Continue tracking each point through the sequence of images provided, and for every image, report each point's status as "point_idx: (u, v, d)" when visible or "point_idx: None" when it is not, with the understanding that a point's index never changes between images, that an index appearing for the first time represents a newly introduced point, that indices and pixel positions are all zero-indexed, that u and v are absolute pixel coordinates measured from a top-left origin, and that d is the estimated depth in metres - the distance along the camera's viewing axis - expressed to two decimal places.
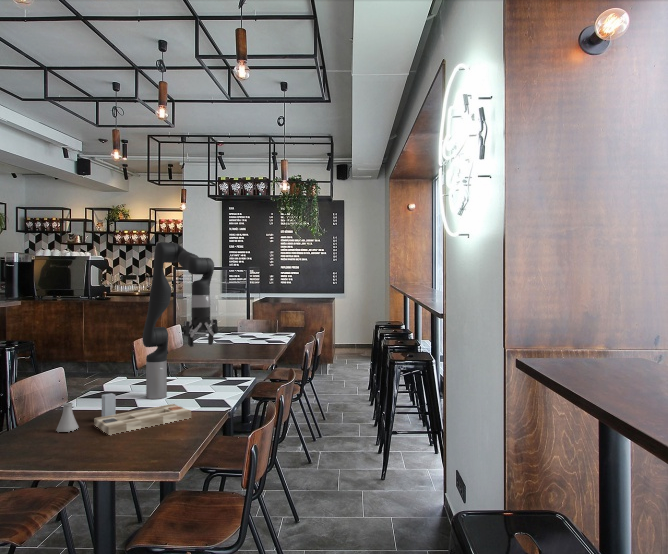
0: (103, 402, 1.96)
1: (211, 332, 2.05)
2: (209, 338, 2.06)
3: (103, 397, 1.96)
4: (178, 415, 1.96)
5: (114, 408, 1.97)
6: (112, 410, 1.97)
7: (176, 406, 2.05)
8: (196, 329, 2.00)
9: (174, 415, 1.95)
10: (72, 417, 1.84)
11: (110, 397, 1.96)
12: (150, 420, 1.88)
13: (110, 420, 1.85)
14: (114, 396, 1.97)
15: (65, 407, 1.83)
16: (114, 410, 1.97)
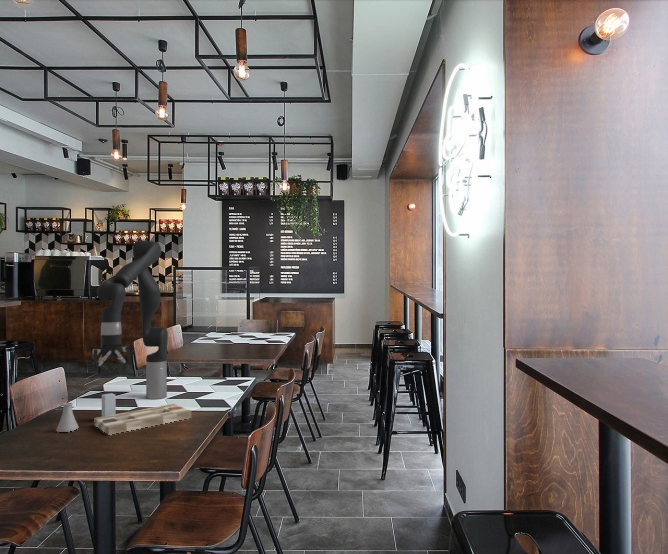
0: (103, 402, 1.96)
1: (123, 360, 2.00)
2: (121, 366, 2.00)
3: (103, 397, 1.96)
4: (178, 415, 1.96)
5: (114, 408, 1.97)
6: (112, 410, 1.97)
7: (176, 406, 2.05)
8: (105, 357, 1.94)
9: (174, 415, 1.95)
10: (72, 417, 1.84)
11: (110, 397, 1.96)
12: (150, 420, 1.88)
13: (110, 420, 1.85)
14: (114, 396, 1.97)
15: (65, 407, 1.83)
16: (114, 410, 1.97)
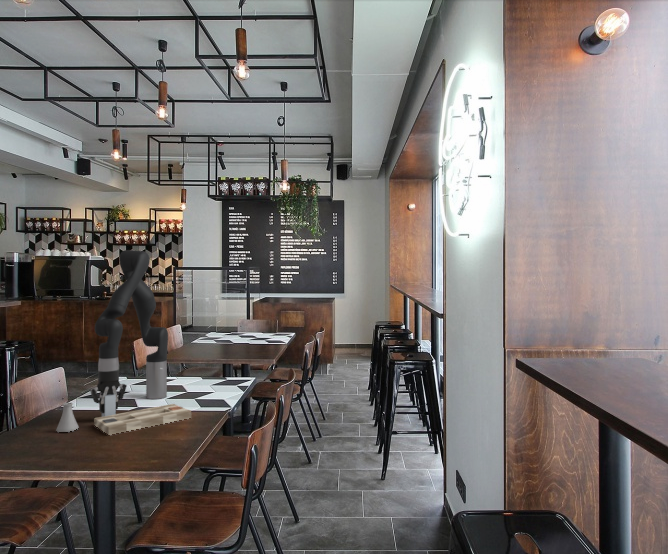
0: None
1: (116, 398, 1.99)
2: None
3: None
4: (178, 415, 1.96)
5: (114, 408, 1.97)
6: (112, 410, 1.97)
7: (176, 406, 2.05)
8: (104, 394, 1.95)
9: (174, 415, 1.95)
10: (72, 417, 1.84)
11: (110, 397, 1.96)
12: (150, 420, 1.88)
13: (110, 420, 1.85)
14: (114, 396, 1.97)
15: (65, 407, 1.83)
16: (114, 410, 1.97)
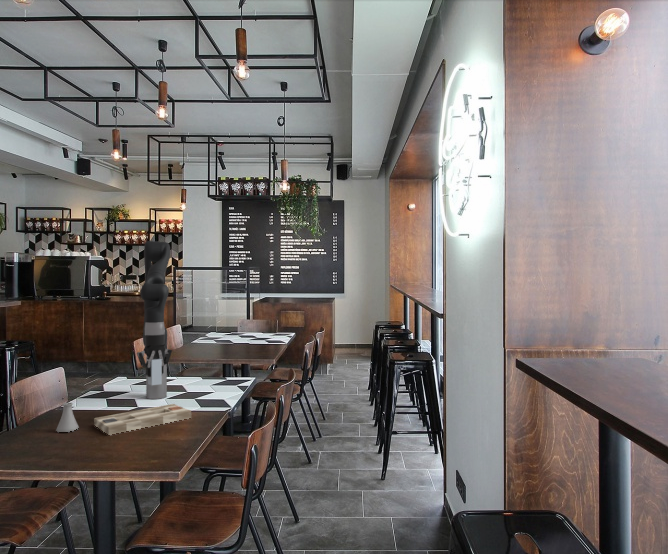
0: None
1: (162, 362, 2.00)
2: None
3: None
4: (178, 415, 1.96)
5: (160, 372, 1.98)
6: (158, 374, 1.98)
7: (176, 406, 2.05)
8: (151, 358, 1.96)
9: (174, 415, 1.95)
10: (72, 417, 1.84)
11: (156, 361, 1.97)
12: (150, 420, 1.88)
13: (110, 420, 1.85)
14: (160, 360, 1.98)
15: (65, 407, 1.83)
16: (160, 374, 1.98)
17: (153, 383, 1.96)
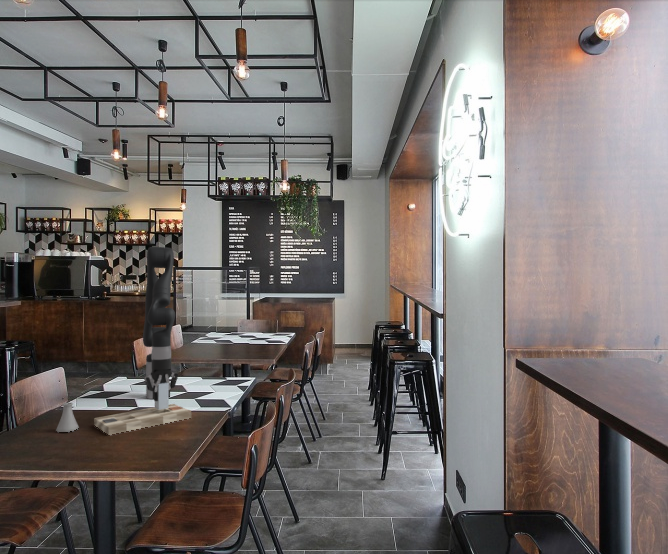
0: None
1: None
2: None
3: None
4: (178, 415, 1.96)
5: (167, 396, 1.99)
6: (165, 398, 1.98)
7: (176, 406, 2.05)
8: (158, 382, 1.97)
9: (174, 415, 1.95)
10: (72, 417, 1.84)
11: (163, 385, 1.98)
12: (150, 420, 1.88)
13: (110, 420, 1.85)
14: (167, 384, 1.99)
15: (65, 407, 1.83)
16: (167, 398, 1.99)
17: (160, 407, 1.97)
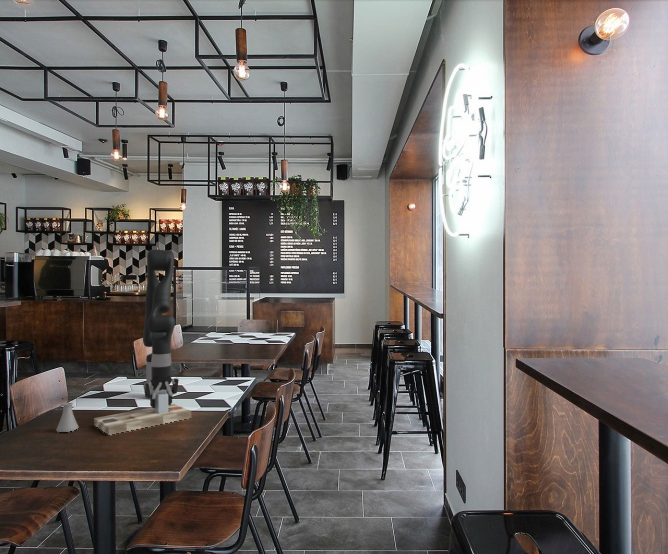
0: (156, 401, 1.98)
1: (170, 392, 2.00)
2: (168, 398, 2.01)
3: (156, 396, 1.98)
4: (178, 415, 1.96)
5: (167, 407, 1.99)
6: (165, 409, 1.98)
7: (176, 406, 2.05)
8: (157, 389, 1.96)
9: (174, 415, 1.95)
10: (72, 417, 1.84)
11: (163, 396, 1.98)
12: (150, 420, 1.88)
13: (110, 420, 1.85)
14: (167, 395, 1.99)
15: (65, 407, 1.83)
16: (167, 409, 1.99)
17: None
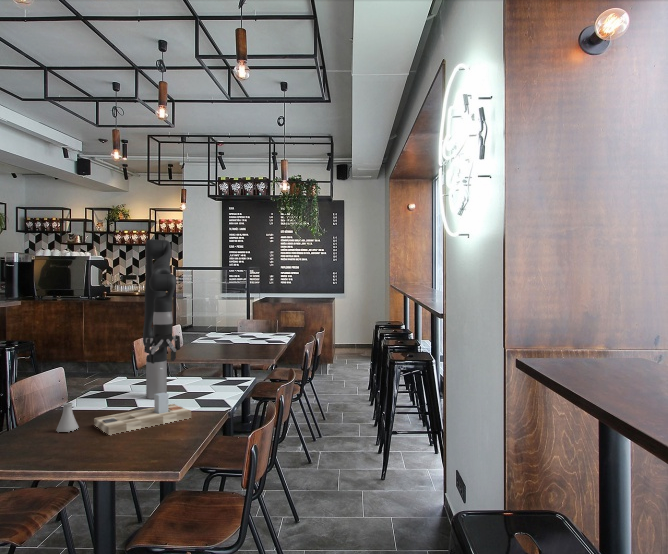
0: (156, 401, 1.98)
1: (173, 348, 2.05)
2: (171, 354, 2.06)
3: (156, 396, 1.98)
4: (178, 415, 1.96)
5: (167, 407, 1.99)
6: (165, 409, 1.98)
7: (176, 406, 2.05)
8: (157, 346, 2.00)
9: (174, 415, 1.95)
10: (72, 417, 1.84)
11: (163, 396, 1.98)
12: (150, 420, 1.88)
13: (110, 420, 1.85)
14: (167, 395, 1.99)
15: (65, 407, 1.83)
16: (167, 409, 1.99)
17: None
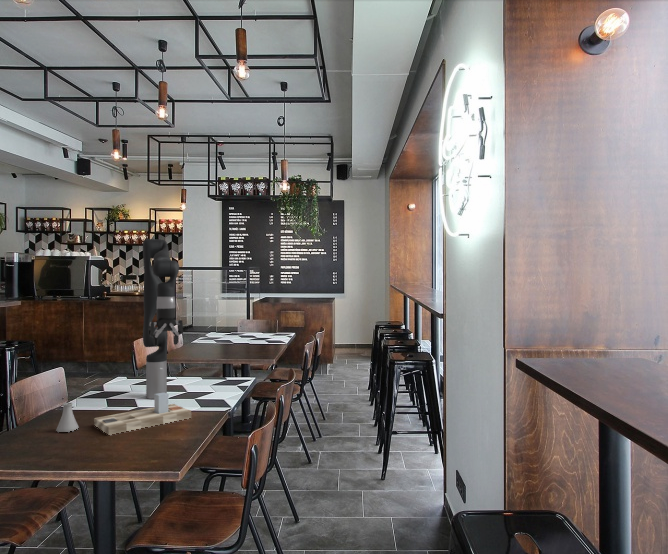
0: (156, 401, 1.98)
1: (176, 332, 2.12)
2: (174, 338, 2.13)
3: (156, 396, 1.98)
4: (178, 415, 1.96)
5: (167, 407, 1.99)
6: (165, 409, 1.98)
7: (176, 406, 2.05)
8: (161, 329, 2.07)
9: (174, 415, 1.95)
10: (72, 417, 1.84)
11: (163, 396, 1.98)
12: (150, 420, 1.88)
13: (110, 420, 1.85)
14: (167, 395, 1.99)
15: (65, 407, 1.83)
16: (167, 409, 1.99)
17: None
